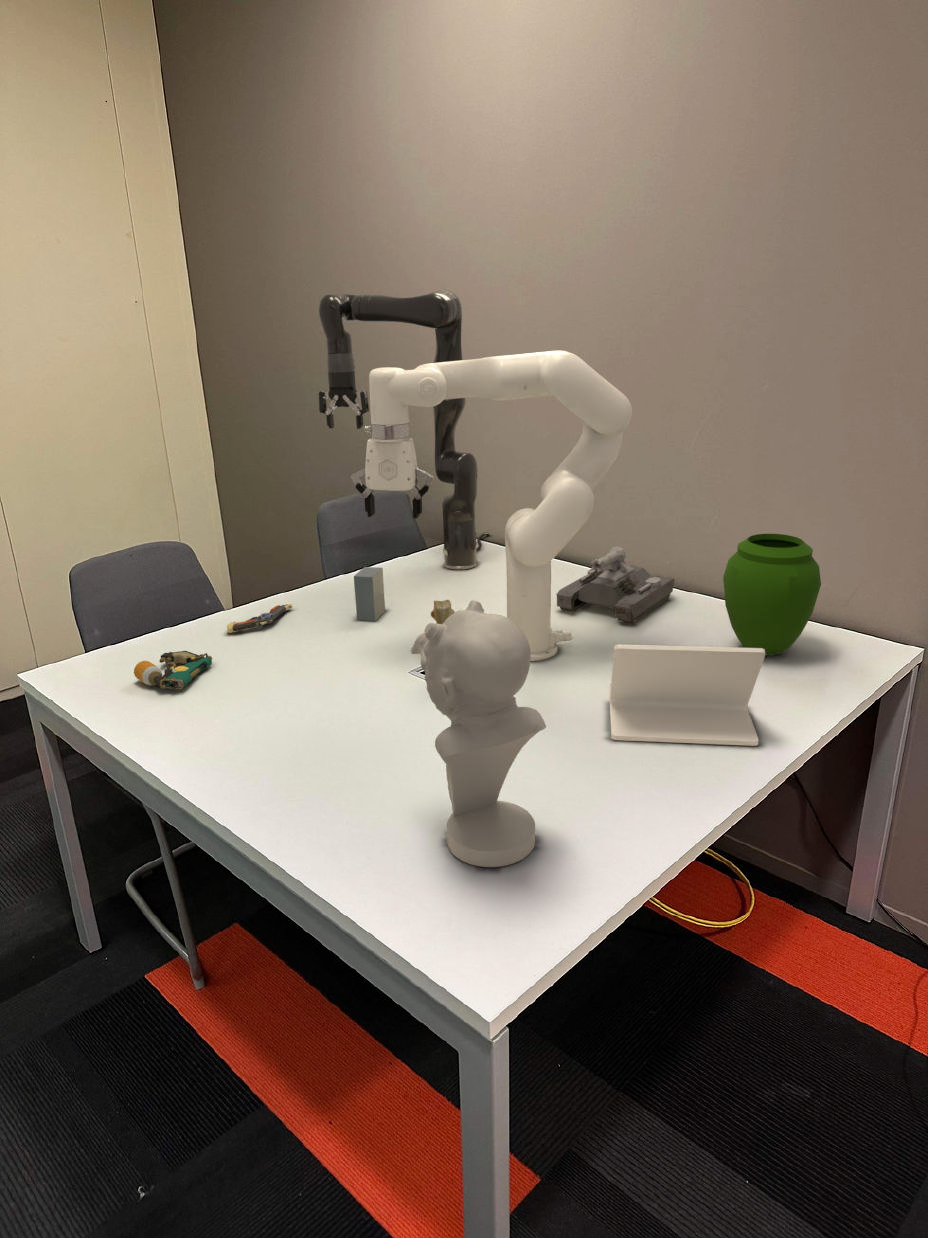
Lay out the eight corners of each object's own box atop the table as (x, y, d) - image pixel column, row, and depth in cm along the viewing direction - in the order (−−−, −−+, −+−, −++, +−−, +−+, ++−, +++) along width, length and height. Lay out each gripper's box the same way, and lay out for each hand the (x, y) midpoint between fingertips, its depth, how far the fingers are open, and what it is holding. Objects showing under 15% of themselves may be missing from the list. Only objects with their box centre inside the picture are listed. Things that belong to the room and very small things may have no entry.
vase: (820, 642, 188) (834, 534, 179) (800, 674, 173) (814, 558, 164) (732, 626, 198) (741, 524, 189) (705, 656, 183) (714, 546, 174)
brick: (357, 620, 209) (353, 576, 205) (367, 609, 216) (364, 566, 212) (375, 621, 208) (372, 577, 204) (385, 610, 215) (382, 567, 211)
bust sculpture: (481, 772, 140) (476, 569, 128) (565, 848, 120) (569, 617, 108) (392, 800, 134) (378, 588, 121) (465, 886, 114) (457, 642, 101)
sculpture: (458, 662, 183) (456, 596, 178) (460, 676, 176) (457, 608, 171) (431, 663, 183) (428, 597, 177) (431, 677, 176) (428, 609, 171)
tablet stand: (759, 746, 146) (769, 654, 140) (611, 740, 149) (614, 650, 143) (741, 699, 163) (749, 615, 157) (609, 695, 166) (611, 613, 160)
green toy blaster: (177, 659, 191) (231, 671, 185) (120, 684, 176) (176, 698, 171) (176, 641, 190) (230, 653, 184) (118, 665, 175) (174, 678, 169)
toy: (603, 584, 229) (605, 530, 224) (673, 597, 218) (677, 540, 213) (555, 612, 210) (556, 553, 205) (630, 627, 199) (633, 566, 194)
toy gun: (223, 625, 202) (262, 621, 199) (256, 603, 219) (292, 600, 217) (225, 635, 202) (264, 632, 200) (258, 613, 220) (294, 610, 218)
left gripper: (312, 371, 238) (317, 430, 244) (360, 370, 235) (364, 430, 241) (322, 368, 245) (327, 426, 251) (369, 368, 242) (373, 426, 248)
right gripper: (342, 434, 168) (347, 519, 174) (428, 435, 165) (430, 522, 171) (354, 428, 175) (359, 510, 181) (436, 430, 172) (438, 513, 178)
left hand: (345, 428), depth 246 cm, fingers open, 8 cm apart
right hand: (393, 516), depth 176 cm, fingers open, 9 cm apart
